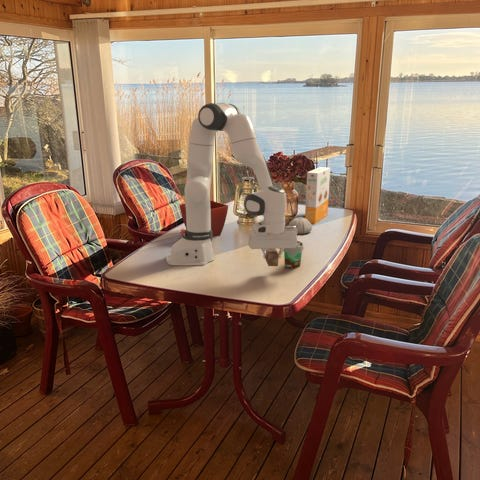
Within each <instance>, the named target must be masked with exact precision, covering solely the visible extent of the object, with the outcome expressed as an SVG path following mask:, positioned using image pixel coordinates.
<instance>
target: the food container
mask: <svg viewBox="0 0 480 480" xmlns="http://www.w3.org/2000/svg"><path fill="white" fill-rule="evenodd" d="M304 249H305V247H304V244H303V242H302V241H300V240H297V246H296V247H295V248H284V251H283V252H284V258H283V259H284V269H298V268H299V267H301V262H302V255H303V254H302V253H303V251H304ZM297 267H298V268H297Z"/></svg>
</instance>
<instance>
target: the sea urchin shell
mask: <svg viewBox="0 0 480 480" xmlns="http://www.w3.org/2000/svg"><path fill="white" fill-rule="evenodd" d="M287 226H295V227H296V228H297V229H298V234H299V235H301V234H302V235H305V234H309V233H310V232H311V231H312V229H313V224H311V223H310V222H309V221H308V220H307V219H305V217H301V216H299V217H295V218H293V219H291V221H290V222H289V223H288V225H287ZM298 234H297V235H298Z"/></svg>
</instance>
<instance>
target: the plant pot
mask: <svg viewBox="0 0 480 480" xmlns="http://www.w3.org/2000/svg"><path fill="white" fill-rule="evenodd" d="M179 210H180V214H181V215H180V216H181V218H182V221H183V223H184V226H185V230H186V229H187V222H186V206H185V203H181V204H179ZM210 210H211V229H212V238H215V237H218V236H219V237H220V236H222V235H221V234H222V233H223V230H224V227H225V224H226V220H227V216H228V210H229V205H228V204H225V203H221V202H217V201H214V200H211V199H210Z"/></svg>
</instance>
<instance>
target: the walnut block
mask: <svg viewBox="0 0 480 480" xmlns="http://www.w3.org/2000/svg"><path fill="white" fill-rule="evenodd" d="M265 253H267V254H268V258H266V259H265V262H266V263H267V266H268V267H278V266H279V259H280V258H279V254H278V253H279V251H277V248H275V249H266V251H265Z"/></svg>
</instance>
